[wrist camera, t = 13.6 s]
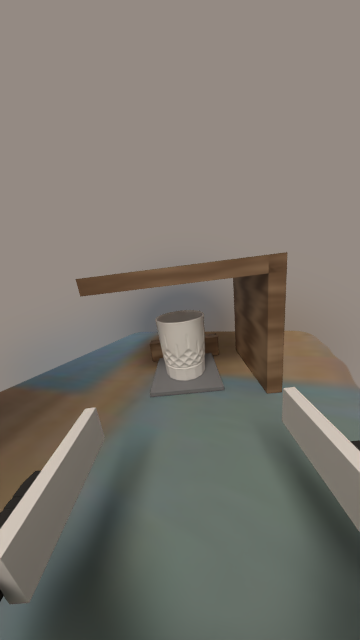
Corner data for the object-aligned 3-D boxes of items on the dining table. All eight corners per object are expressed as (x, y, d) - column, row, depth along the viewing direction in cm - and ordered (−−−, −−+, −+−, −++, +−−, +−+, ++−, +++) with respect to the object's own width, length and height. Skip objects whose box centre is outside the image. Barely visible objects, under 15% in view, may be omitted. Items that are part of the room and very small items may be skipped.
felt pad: (224, 390, 25) (223, 386, 25) (150, 396, 26) (149, 393, 25) (211, 355, 36) (211, 352, 36) (159, 360, 36) (159, 358, 36)
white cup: (188, 355, 36) (183, 308, 33) (217, 368, 30) (214, 312, 27) (156, 371, 31) (146, 318, 29) (182, 390, 25) (174, 326, 22)
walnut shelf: (281, 392, 23) (287, 252, 19) (110, 407, 24) (75, 279, 20) (244, 347, 37) (242, 261, 33) (136, 359, 38) (119, 277, 34)
